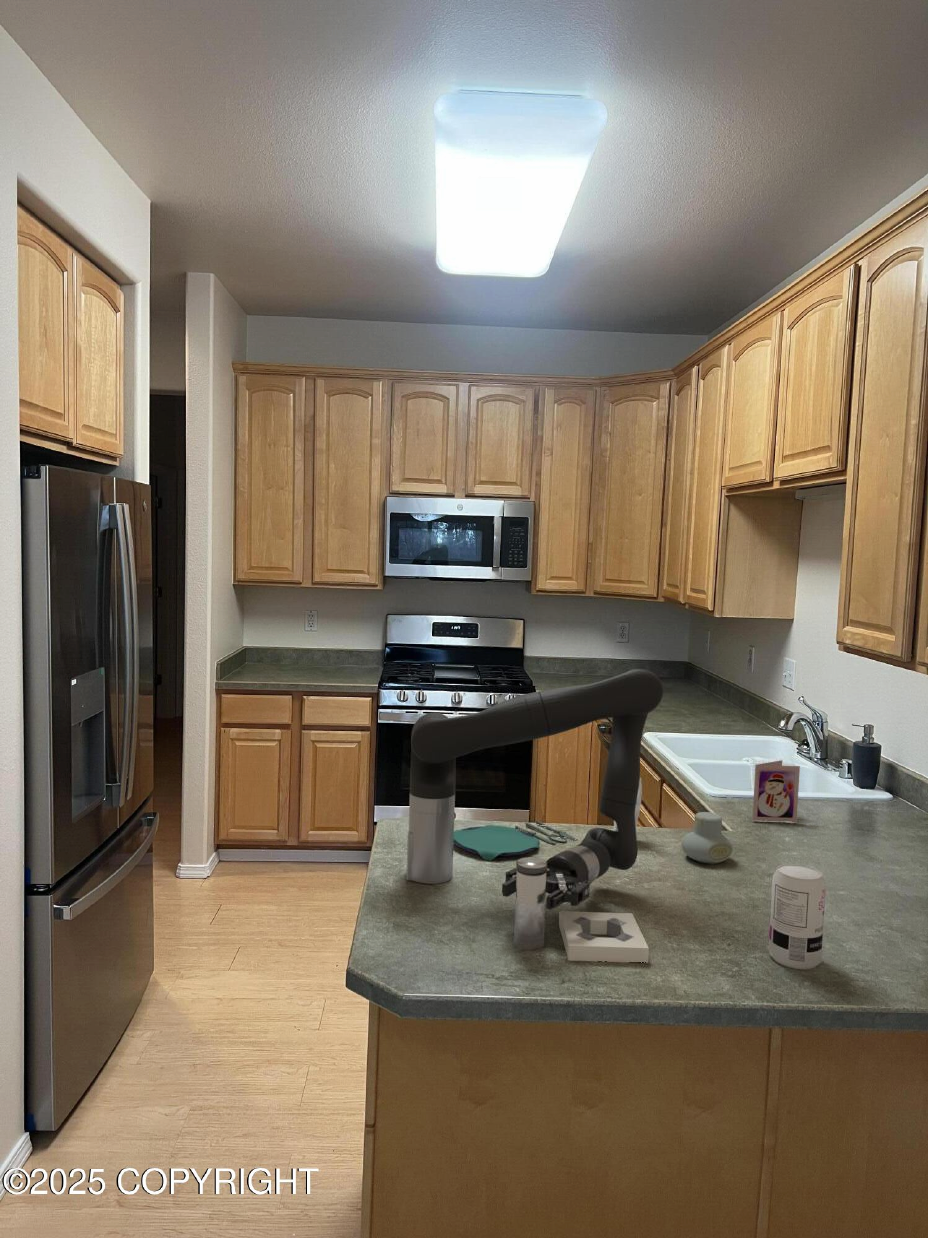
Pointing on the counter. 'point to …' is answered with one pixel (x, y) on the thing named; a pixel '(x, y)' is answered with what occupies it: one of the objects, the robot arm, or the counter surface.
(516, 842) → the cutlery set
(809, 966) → the supplement can
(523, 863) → the grey cylindrical piece
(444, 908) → the counter surface
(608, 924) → the mount plate
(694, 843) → the air freshener
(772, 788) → the greeting card
